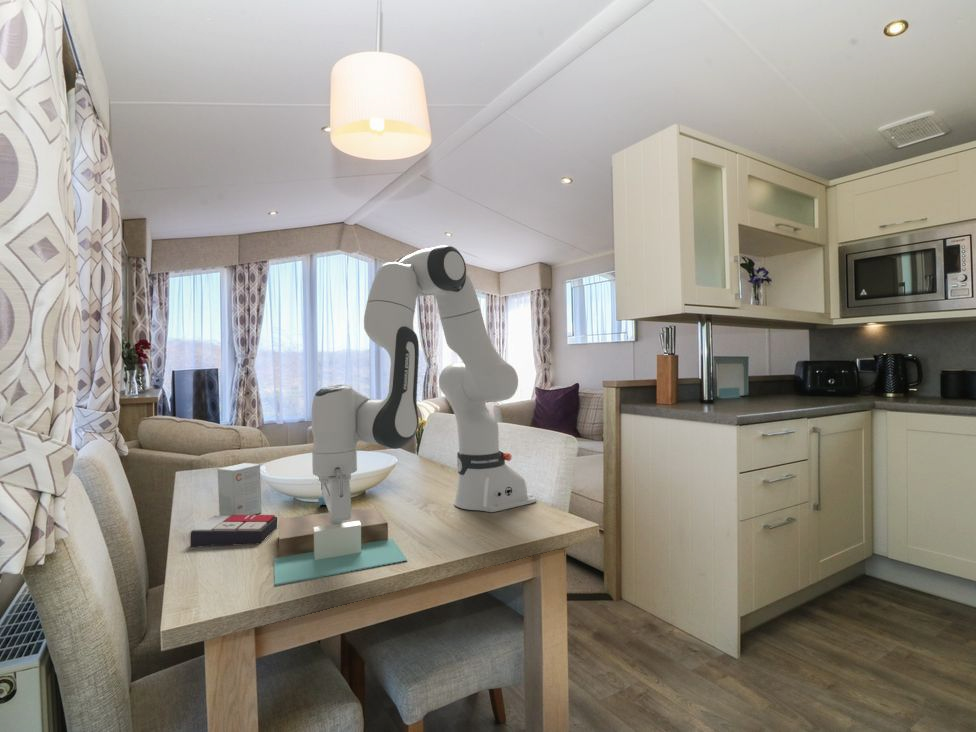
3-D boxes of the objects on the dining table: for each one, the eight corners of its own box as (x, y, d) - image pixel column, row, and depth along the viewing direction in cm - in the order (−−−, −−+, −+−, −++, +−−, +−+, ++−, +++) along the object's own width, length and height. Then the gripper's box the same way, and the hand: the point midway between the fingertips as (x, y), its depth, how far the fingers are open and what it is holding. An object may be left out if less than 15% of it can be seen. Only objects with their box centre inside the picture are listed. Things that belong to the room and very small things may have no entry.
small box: (246, 510, 134) (244, 462, 134) (262, 513, 132) (260, 464, 131) (218, 519, 127) (216, 468, 127) (234, 522, 124) (233, 470, 124)
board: (375, 522, 122) (375, 506, 122) (388, 540, 109) (387, 522, 109) (278, 536, 113) (278, 519, 113) (279, 558, 100) (279, 539, 100)
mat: (392, 539, 109) (392, 538, 109) (407, 561, 97) (407, 559, 97) (274, 559, 100) (274, 558, 100) (274, 585, 88) (274, 584, 88)
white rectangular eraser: (359, 520, 103) (361, 524, 101) (359, 547, 103) (361, 552, 102) (313, 527, 99) (314, 531, 97) (314, 555, 100) (314, 560, 98)
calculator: (261, 528, 109) (189, 528, 108) (260, 547, 109) (189, 548, 108) (278, 513, 120) (213, 513, 119) (277, 531, 120) (213, 531, 119)
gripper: (358, 472, 94) (360, 544, 94) (344, 454, 113) (345, 514, 113) (323, 475, 92) (325, 550, 92) (315, 457, 110) (316, 518, 110)
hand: (336, 530), depth 102 cm, fingers closed
